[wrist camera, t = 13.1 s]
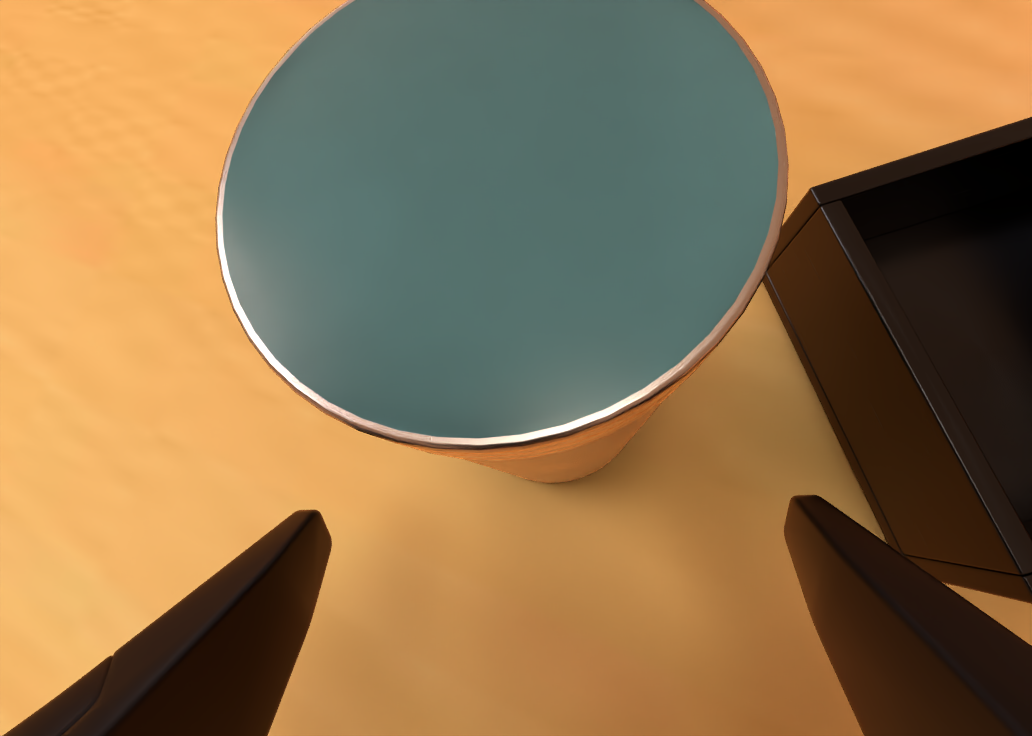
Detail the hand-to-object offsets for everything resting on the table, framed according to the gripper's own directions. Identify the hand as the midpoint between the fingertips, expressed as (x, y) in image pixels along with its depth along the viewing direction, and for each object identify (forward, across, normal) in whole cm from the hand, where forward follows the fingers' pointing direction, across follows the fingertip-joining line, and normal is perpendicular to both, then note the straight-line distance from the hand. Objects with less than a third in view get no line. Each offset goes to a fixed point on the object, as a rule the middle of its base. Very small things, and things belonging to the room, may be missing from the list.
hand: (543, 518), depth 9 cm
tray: (+8, -14, +2) cm, 16 cm away
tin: (+8, 0, +2) cm, 8 cm away
